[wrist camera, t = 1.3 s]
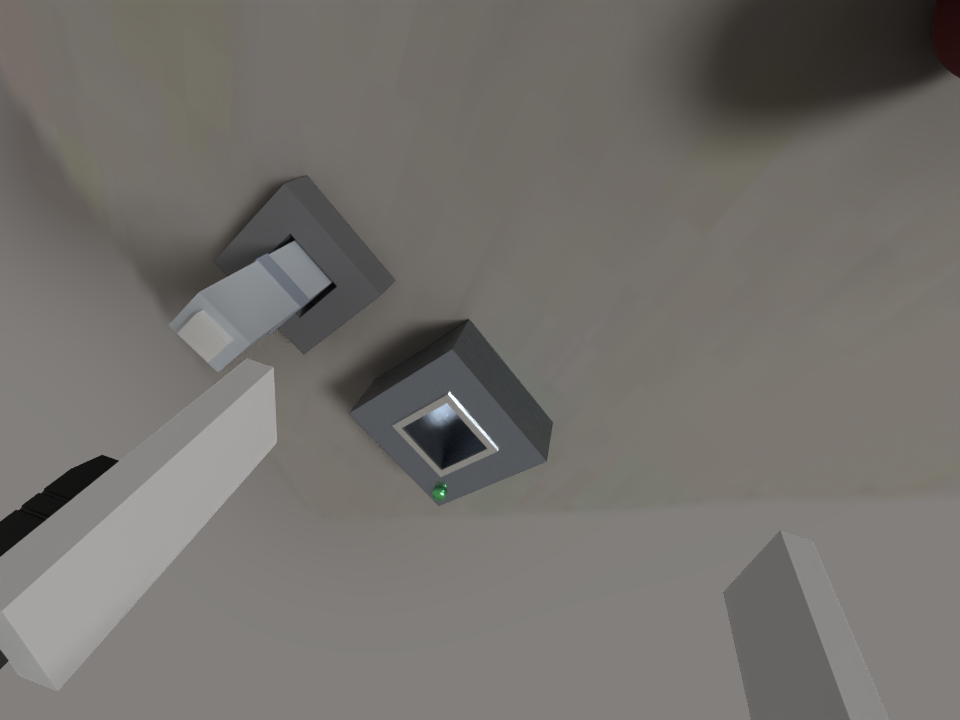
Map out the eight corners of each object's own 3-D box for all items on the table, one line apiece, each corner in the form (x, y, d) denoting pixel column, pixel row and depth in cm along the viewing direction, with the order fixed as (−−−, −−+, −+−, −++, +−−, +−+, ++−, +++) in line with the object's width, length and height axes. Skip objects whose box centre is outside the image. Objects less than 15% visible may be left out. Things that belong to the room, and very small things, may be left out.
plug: (278, 260, 39) (158, 329, 29) (308, 231, 37) (190, 293, 27) (314, 299, 40) (211, 379, 30) (345, 273, 38) (246, 349, 28)
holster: (238, 249, 40) (213, 261, 38) (307, 175, 35) (284, 183, 33) (321, 338, 43) (303, 354, 41) (395, 280, 38) (380, 295, 36)
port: (373, 381, 44) (345, 417, 40) (469, 319, 39) (449, 353, 34) (453, 468, 48) (436, 511, 43) (552, 422, 42) (545, 466, 37)
